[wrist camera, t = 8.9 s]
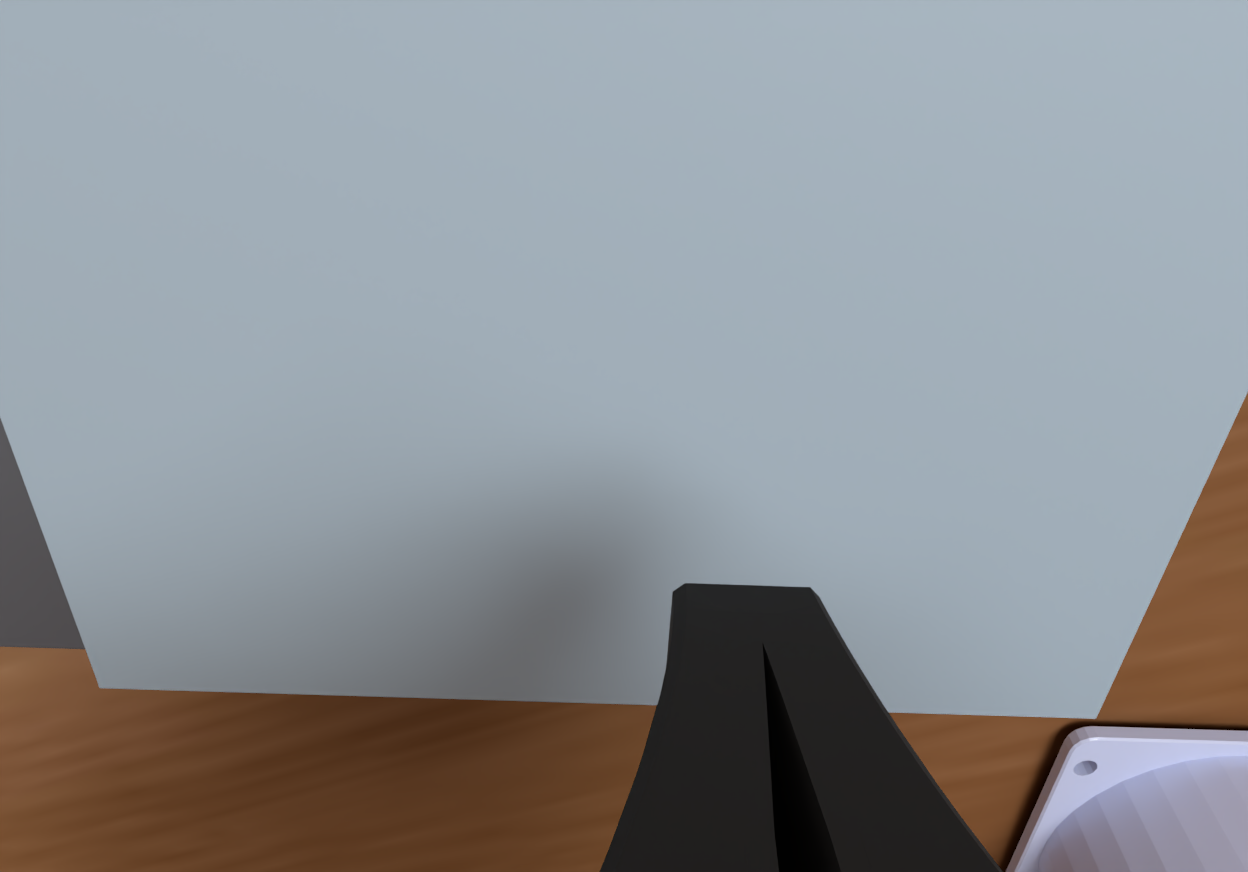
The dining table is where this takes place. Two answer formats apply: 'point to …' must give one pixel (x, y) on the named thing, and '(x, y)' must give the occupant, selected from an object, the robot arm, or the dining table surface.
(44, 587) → the mat
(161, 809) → the dining table surface
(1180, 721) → the dining table surface
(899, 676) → the deck
